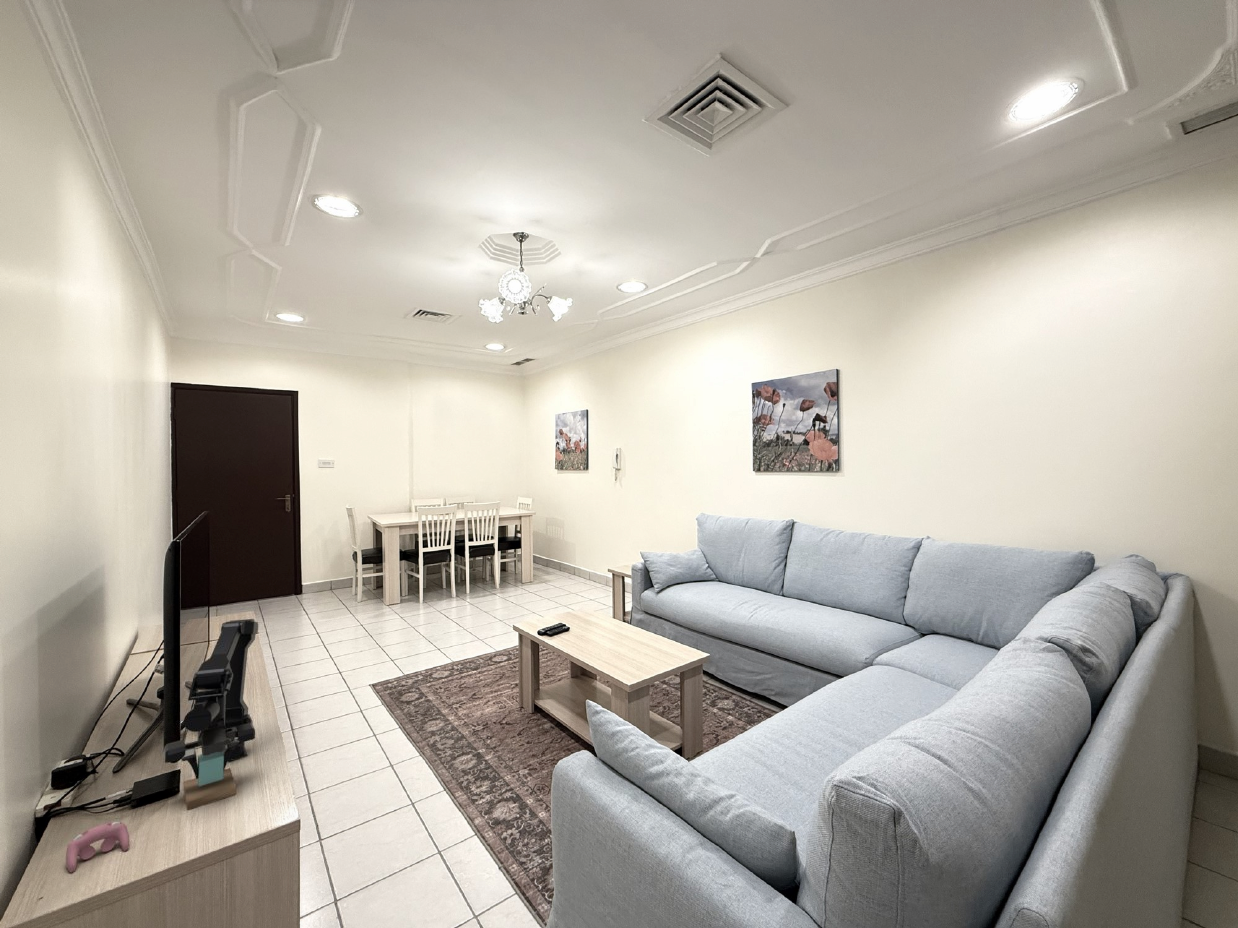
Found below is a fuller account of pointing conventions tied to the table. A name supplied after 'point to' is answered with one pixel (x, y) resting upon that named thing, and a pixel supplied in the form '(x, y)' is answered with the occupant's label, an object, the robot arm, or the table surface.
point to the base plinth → (209, 790)
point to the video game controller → (83, 841)
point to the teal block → (210, 768)
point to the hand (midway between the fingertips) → (210, 774)
